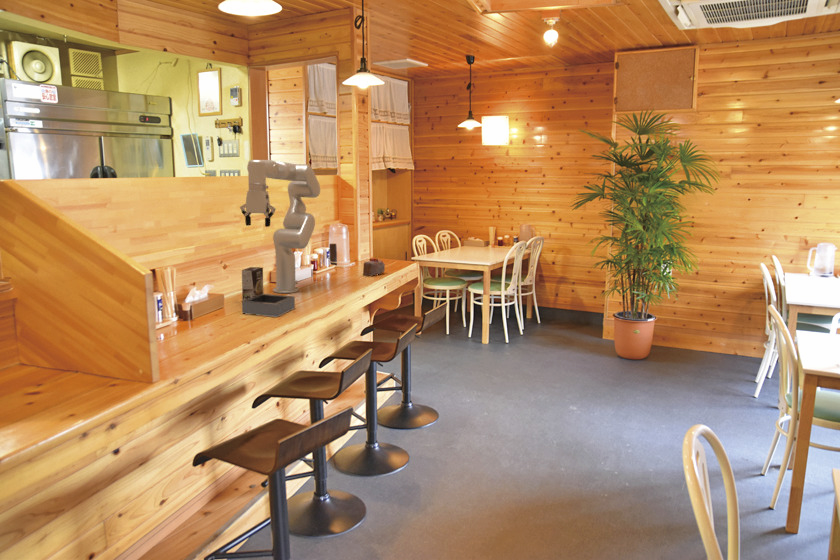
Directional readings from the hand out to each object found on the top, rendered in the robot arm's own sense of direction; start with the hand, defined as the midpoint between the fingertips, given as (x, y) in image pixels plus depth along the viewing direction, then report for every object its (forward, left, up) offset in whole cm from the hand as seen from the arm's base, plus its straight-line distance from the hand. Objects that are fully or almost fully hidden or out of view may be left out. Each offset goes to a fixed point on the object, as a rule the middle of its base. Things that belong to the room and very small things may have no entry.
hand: (257, 225), depth 267 cm
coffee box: (+3, -2, -36) cm, 36 cm away
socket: (+14, +12, -35) cm, 40 cm away
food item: (-83, +27, -36) cm, 94 cm away
